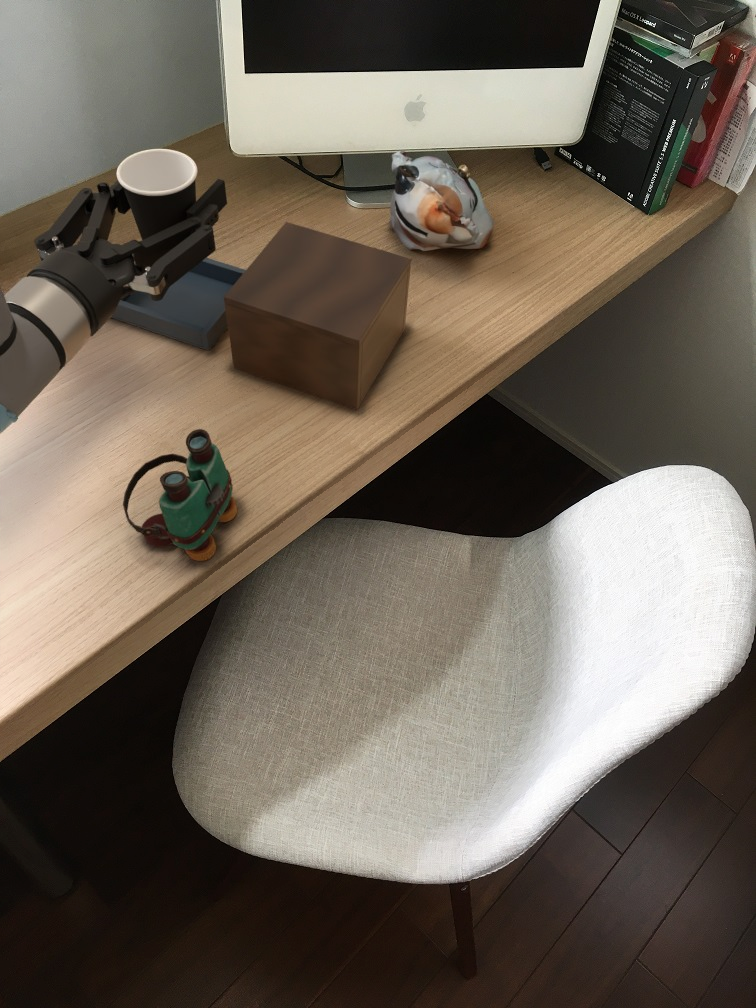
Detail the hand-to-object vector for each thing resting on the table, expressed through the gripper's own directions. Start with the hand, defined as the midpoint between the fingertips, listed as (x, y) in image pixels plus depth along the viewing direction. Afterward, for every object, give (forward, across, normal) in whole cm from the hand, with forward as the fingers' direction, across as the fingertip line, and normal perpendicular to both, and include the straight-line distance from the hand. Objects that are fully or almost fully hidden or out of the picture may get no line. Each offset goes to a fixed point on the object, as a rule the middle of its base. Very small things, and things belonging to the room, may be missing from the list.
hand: (187, 180), depth 84 cm
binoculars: (-32, +16, -13) cm, 38 cm away
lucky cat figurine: (+20, +23, -13) cm, 33 cm away
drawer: (-5, -2, -13) cm, 14 cm away
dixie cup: (-5, 0, -7) cm, 9 cm away
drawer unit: (-5, +18, -13) cm, 23 cm away
